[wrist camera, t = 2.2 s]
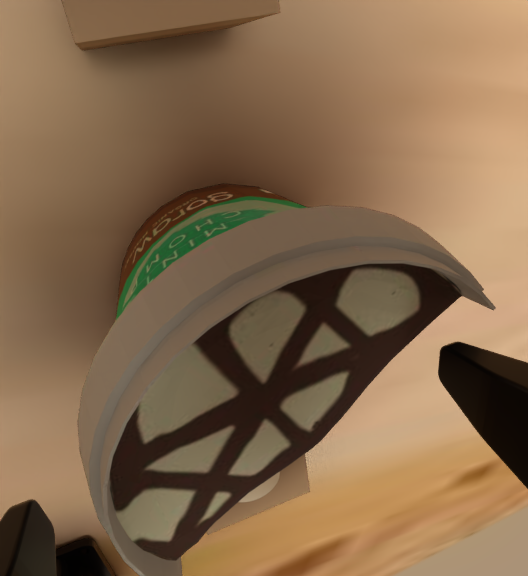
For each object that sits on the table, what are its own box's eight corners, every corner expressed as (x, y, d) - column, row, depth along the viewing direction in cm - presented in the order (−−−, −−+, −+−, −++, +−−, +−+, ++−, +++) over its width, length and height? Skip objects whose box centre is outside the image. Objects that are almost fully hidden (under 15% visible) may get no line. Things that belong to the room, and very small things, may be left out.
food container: (238, 77, 16) (400, 89, 7) (329, 192, 19) (512, 293, 10) (17, 310, 17) (-68, 558, 8) (139, 380, 20) (168, 608, 12)
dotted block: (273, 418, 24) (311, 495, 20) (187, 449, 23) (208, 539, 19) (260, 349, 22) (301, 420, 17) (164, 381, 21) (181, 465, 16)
